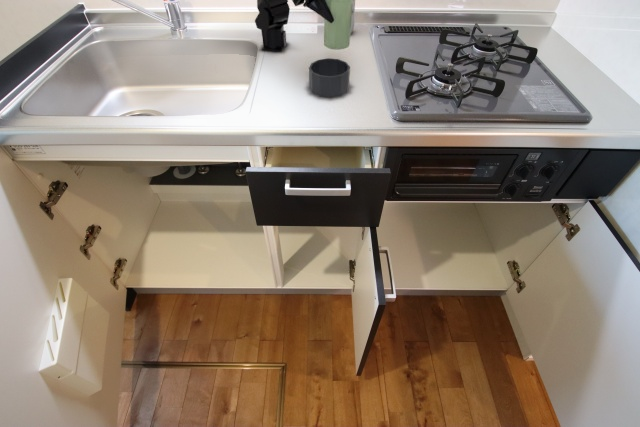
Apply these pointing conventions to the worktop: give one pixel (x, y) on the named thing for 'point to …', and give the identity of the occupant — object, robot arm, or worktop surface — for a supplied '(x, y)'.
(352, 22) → the bottle
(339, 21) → the cup
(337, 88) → the bucket
